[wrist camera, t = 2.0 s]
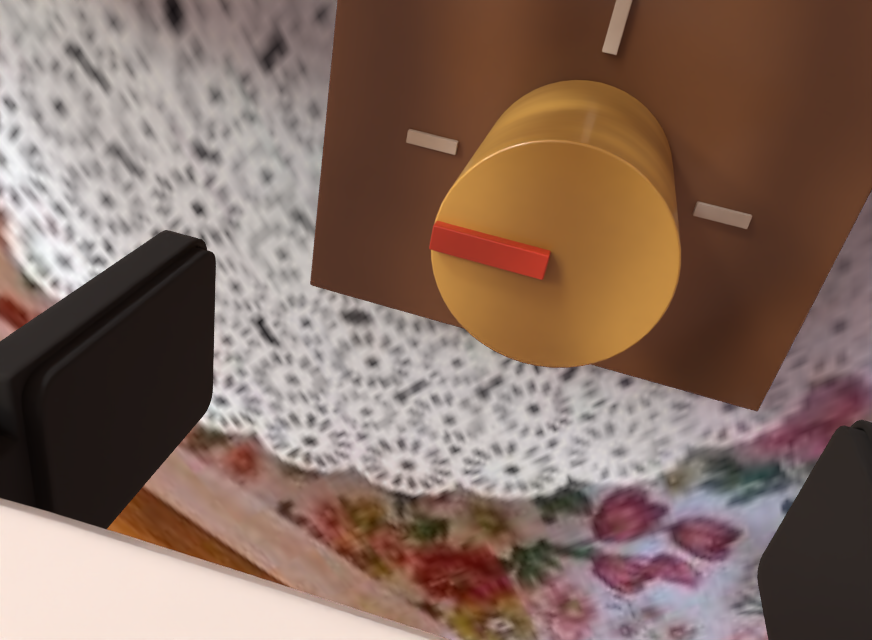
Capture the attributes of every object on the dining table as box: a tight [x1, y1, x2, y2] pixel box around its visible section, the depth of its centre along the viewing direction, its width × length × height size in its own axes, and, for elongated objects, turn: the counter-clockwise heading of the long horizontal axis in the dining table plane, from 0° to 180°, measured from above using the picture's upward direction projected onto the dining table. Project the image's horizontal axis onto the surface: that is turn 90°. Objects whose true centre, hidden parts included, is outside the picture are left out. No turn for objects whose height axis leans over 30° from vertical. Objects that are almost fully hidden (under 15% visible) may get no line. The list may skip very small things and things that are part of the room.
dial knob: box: [429, 80, 681, 368], centre depth 17 cm, size 5×5×6 cm
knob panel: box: [310, 0, 872, 411], centre depth 21 cm, size 14×11×3 cm
